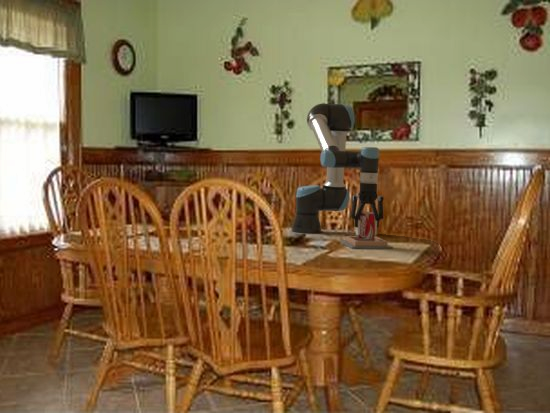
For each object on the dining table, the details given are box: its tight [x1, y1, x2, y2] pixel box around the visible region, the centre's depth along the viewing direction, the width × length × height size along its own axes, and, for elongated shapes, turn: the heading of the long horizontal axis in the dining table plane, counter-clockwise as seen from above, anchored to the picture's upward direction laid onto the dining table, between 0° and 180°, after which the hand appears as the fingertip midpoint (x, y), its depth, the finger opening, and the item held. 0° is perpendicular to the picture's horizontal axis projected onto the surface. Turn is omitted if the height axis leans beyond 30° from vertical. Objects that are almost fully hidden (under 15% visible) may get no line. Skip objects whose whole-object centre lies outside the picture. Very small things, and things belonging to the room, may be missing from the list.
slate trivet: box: [339, 235, 394, 250], centre depth 254 cm, size 18×18×3 cm
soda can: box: [357, 211, 375, 240], centre depth 254 cm, size 7×7×12 cm
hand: (366, 234), depth 254 cm, fingers closed on soda can, 7 cm apart
